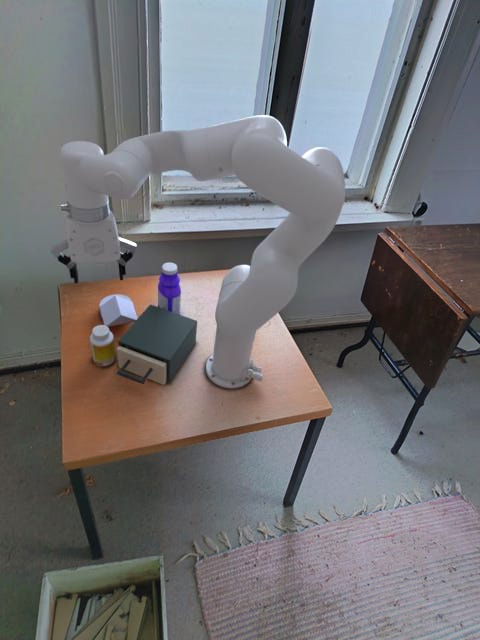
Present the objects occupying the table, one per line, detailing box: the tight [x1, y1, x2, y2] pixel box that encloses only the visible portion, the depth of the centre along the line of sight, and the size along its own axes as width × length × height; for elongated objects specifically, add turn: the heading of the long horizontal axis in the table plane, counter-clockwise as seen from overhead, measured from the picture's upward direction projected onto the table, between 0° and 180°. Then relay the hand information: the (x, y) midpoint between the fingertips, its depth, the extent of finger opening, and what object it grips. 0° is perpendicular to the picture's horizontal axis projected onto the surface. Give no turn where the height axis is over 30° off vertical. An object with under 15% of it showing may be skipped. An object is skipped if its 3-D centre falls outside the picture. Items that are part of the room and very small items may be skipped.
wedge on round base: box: [99, 293, 139, 328], centre depth 114 cm, size 9×7×13 cm
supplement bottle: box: [89, 324, 117, 367], centre depth 101 cm, size 6×6×10 cm
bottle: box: [157, 262, 182, 315], centre depth 114 cm, size 7×6×17 cm
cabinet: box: [117, 304, 198, 384], centre depth 106 cm, size 16×14×9 cm
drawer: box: [116, 345, 167, 386], centre depth 102 cm, size 19×13×7 cm, turn 160°
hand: (99, 278), depth 92 cm, fingers open, 9 cm apart
